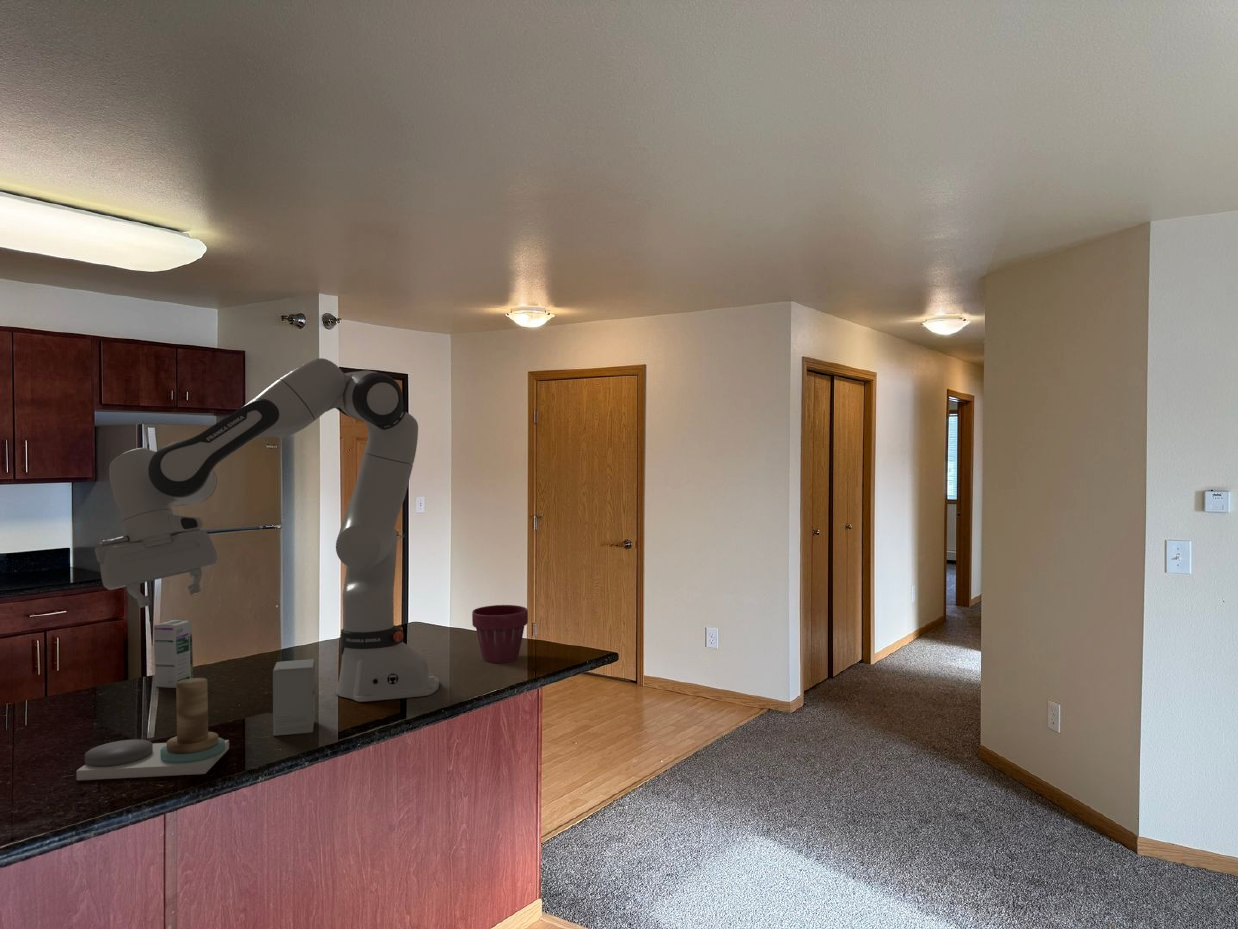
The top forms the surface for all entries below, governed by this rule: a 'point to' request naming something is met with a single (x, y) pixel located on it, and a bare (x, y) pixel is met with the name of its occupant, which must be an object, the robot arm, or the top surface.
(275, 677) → the supplement box
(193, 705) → the brown cylinder round base
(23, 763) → the top surface
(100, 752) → the double oval pad board
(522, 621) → the plant pot
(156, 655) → the syrup box
